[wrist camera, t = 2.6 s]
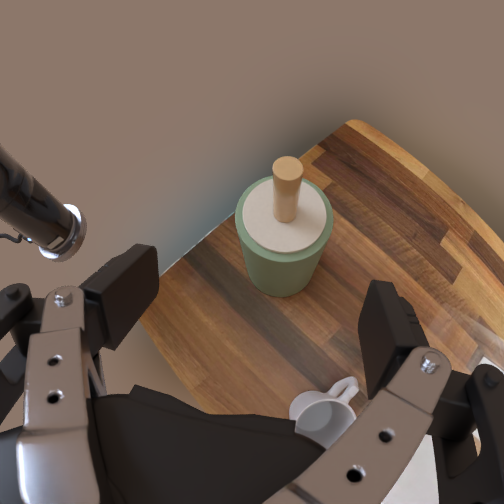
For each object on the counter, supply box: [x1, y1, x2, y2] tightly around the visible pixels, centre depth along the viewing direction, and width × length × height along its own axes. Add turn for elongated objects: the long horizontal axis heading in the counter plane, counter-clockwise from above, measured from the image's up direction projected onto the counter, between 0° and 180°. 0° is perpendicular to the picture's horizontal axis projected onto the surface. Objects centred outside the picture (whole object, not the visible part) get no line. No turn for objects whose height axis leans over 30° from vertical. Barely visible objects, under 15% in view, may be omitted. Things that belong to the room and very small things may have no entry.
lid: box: [243, 156, 327, 254], centre depth 26 cm, size 8×8×8 cm
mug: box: [289, 377, 359, 449], centre depth 32 cm, size 10×7×12 cm, turn 139°
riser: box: [235, 176, 333, 297], centre depth 38 cm, size 10×10×16 cm
